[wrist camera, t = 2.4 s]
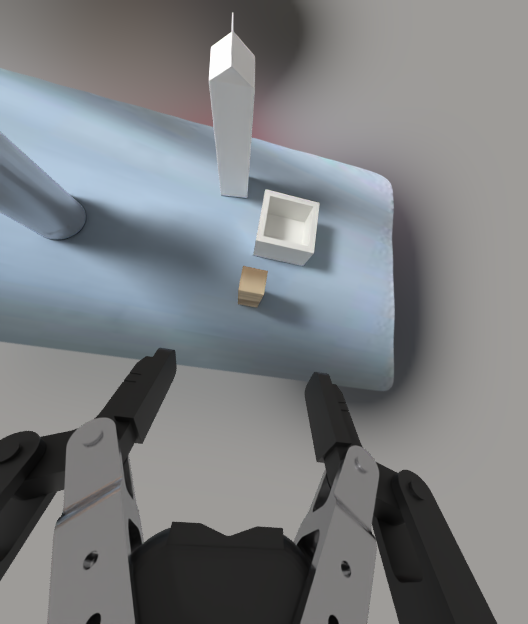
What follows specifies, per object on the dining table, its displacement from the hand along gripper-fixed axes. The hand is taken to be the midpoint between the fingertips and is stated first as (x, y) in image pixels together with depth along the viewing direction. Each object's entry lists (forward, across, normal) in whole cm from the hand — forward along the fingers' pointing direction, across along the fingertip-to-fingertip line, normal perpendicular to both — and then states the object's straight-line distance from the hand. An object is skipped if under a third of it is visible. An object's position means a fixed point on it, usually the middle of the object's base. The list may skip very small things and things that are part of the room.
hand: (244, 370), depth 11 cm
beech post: (+27, 0, +10) cm, 29 cm away
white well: (+38, -5, 0) cm, 38 cm away
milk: (+45, +8, -7) cm, 46 cm away
